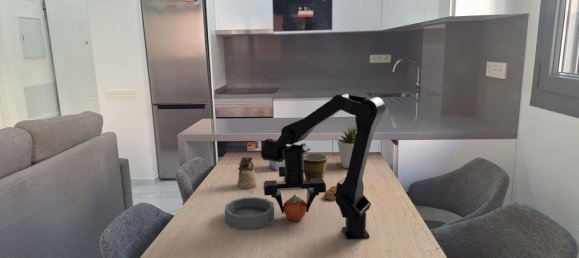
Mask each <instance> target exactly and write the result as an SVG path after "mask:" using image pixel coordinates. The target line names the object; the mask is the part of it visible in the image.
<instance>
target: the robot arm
mask: <svg viewBox="0 0 579 258" xmlns="http://www.w3.org/2000/svg"><path fill="white" fill-rule="evenodd" d="M340 111H342V112H345V113H347V114H349V115H352V116H354V117H355V126H356V129H357V131H356V133H355V134H356V137H355V141H354V146H353V150H352V154H351V158H350V163H349V167H348V168H347V171H346V176H345V177H343V178H342V179H341V180H339V181H338V182H337V183H336V186H337V188H336V193H335V194H334V196H336V200H335V204H336V205H337V207H339V211H340V214H341V216H342V218H345V226H343V227H341V229H342V232H343V233H344V234H343V235H344V236H345V238H346V239H347V240H353V239H355V240H356V239H367V238H370V234H369V232H368V231H367V211H369V210H370V208H371V205H372V203H371V202H370V200H369V199H368V198H367V197H366V195H364V191H365V189H364V180H363V177H364V174H365V169H366V165H367V162H368V161H367V160H368V158H369V154H370V149H371V145H372V141H373V136H374V133H375V131H376V129H377V127H378V126H379V124H380V122H381V120H382V119H383V117H384V115H385V112H386V104H385V102H384V100H383V99H382V98H380V97H379V96H369V97H366V96H359V95H354V94H353V95H352V94H348V93H345V92H342V93H339V94H336V95H334V96H333V97H332V98H331V99H329V100H328V101H326V103H324V104H322V105H321V106H320V107H318V108H317V109H315V110H313V111H312V112H311V113H309V114H308V115H307V116H305V117H304V118H302V119H299V120H296V121H294V122H292V123H290V124H287V125H285V126H283V127H282V128H281V132H280V136H279V137H278V138H277V139H273V138H267V139H265V140H264V144H263V145H262V148H261V151H260V154H261V159H263V160H264V161H274V162H282V161H283V160H284V159H285V167H279V171H278V177H279V178H283V181H284V183H277V180H273V179H272V180H265V181H264V182H263V193H264V196H266V197H267V196H270V197H271V198H273V199H274V198H275V200H276V202H277V204H278V206H279V208H280V212H281V214H282V215H285V213H284V209H283V204H284V202H283V198H282V193H281V191H288V190H289V191H290V190H292V191H293V190H306V201H305V202H306V205H307V211H306V213H309V210H310V207H311V205H312V204H313V202H314V200H315V198H316V197H317V196H319V195H320V194H323V193H324V194H325V192H326V191H327V185H326V181H325V180H324V179H322V178H313V179H311V182H306V181H305V174H304V155H305V153H308V152H309V151H311V147H309V146H308V145H307V144H306V143H305V142H303V143H301V144H297V143H300V142H302V141H303V140H305V139H306V138H307V137H308V136H309V135H310V134H311V133H312V131H313V130H314V129H315V128H316V127H317V126H318V125H321V124H322V123H323V122H325V121H326V120H327V119H330V118H331V117H332V116H334V115H336V114H337V113H339V112H340ZM304 181H305V182H304Z"/></svg>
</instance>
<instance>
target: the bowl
mask: <svg viewBox="0 0 579 258" xmlns="http://www.w3.org/2000/svg"><path fill="white" fill-rule="evenodd" d="M224 220H225V224H226V225H228V226H229V227H230V228H232V229H237V230H241V231H248V230H258V229H262V228H264V227H268V226H269V225H271V223H272V222H274V221H275V205H274V202H272V201H271V200H270V199H268V198H263V197H257V196H252V197H251V196H250V197H242V198H237V199H234V200H231V201H230V202H228V203H227V204H225V208H224Z"/></svg>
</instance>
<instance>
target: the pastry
mask: <svg viewBox="0 0 579 258" xmlns="http://www.w3.org/2000/svg"><path fill="white" fill-rule="evenodd" d="M336 188H337V185H333V186H330V188H329V189H326V192H325V193H324V195H323V196H324V197H323V198H324V199H327V200H328V201H336V196H334V194H335V193H336Z"/></svg>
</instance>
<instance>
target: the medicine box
mask: <svg viewBox="0 0 579 258" xmlns="http://www.w3.org/2000/svg"><path fill="white" fill-rule="evenodd" d="M269 167H270V168H271V169H273V170H274V171H275V172H279V167H285V159H284V160H283V161H282V162H274V161H269Z"/></svg>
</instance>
